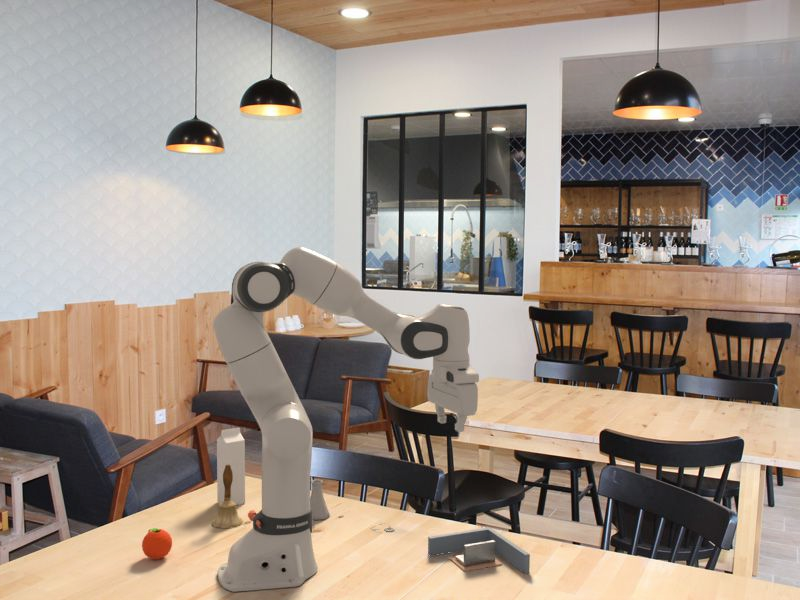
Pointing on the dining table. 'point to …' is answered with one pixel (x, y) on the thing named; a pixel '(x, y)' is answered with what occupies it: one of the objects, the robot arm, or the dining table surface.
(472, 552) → the angle bracket
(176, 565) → the dining table surface
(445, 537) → the grey l-shaped piece
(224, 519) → the wooden handled brush
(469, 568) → the mat
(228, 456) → the milk
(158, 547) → the clementine
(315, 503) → the flask
